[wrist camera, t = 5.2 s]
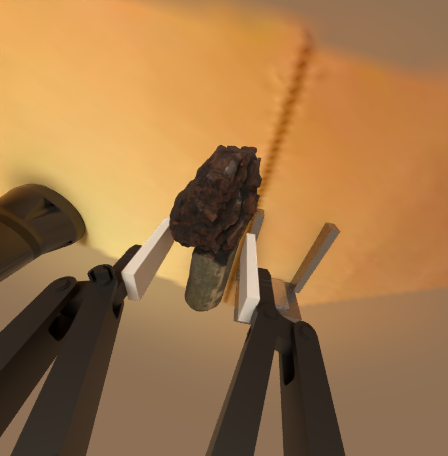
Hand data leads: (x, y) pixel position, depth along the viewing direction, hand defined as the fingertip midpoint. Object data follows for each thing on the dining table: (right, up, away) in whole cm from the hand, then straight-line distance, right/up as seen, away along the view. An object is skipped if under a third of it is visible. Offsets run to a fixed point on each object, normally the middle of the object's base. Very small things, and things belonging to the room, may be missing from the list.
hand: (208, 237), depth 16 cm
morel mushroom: (0, +1, +2) cm, 3 cm away
